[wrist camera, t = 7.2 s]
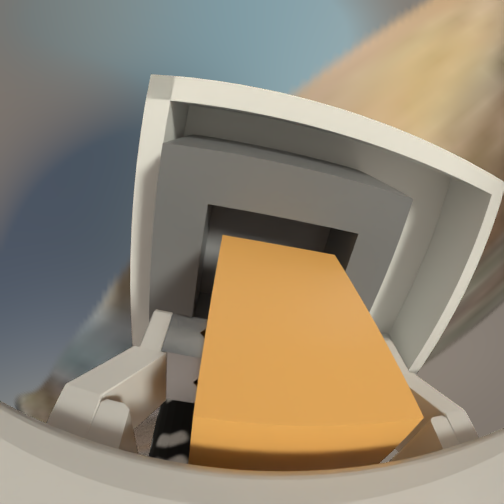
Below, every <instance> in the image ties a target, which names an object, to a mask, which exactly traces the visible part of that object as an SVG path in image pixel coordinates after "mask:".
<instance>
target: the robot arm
mask: <svg viewBox="0 0 504 504" xmlns="http://www.w3.org/2000/svg"><path fill="white" fill-rule="evenodd" d="M207 321H208V319H203V318H198V317H192V316H187V315H183V314H178V313H172V312H167V311H162V310H158V309H156V310H155V311H154V312H153V314H152V317H151V319H150V321H149V324H148V326H147V329H146V331H145V334H144V336H143V339H142V341H141V344H140V346H139V347H137V346H133V347H131V348H129V349H127V350H126V351H124V352H122V353H120V354H119V355H117V356H115V357H113V358H112V359H110V360H108V361H106V362H104V363H103V364H101V365H99V366H97V367H95V368H94V369H92V370H90V371H88V372H86V373H85V374H83V375H81V376H79V377H77V378H76V379H74V380H72V381H70V382H68V383H67V384H65V386H64V388H63V390H62V392H61V394H60V396H59V398H58V400H57V402H56V404H55V406H54V408H53V410H52V412H51V414H50V416H49V418H48V420H47V423H44V422H42V421H40V420H37V419H35V418H33V417H31V416H29V415H27V414H25V413H22V412H20V411H18V410H16V409H15V408H13V407H11V406H9V405H7V404H5V403H3V402H1V401H0V504H504V428H502V429H500V430H498V431H495V432H493V433H490V434H488V435H485V436H482V437H480V438H479V437H478V435H477V432H476V431H475V429H474V427H473V425H472V423H471V421H470V419H469V417H468V416H467V414H466V412H465V410H464V409H462V408H461V407H460V406H458V405H457V404H455V403H454V402H453V401H451V400H450V399H448V398H447V397H446V396H444V395H443V394H442V393H440V392H439V391H437V390H436V389H435V388H433V387H432V386H430V385H429V384H428V383H426V382H425V381H424V380H422V379H421V378H419V377H418V376H417V375H415V374H414V373H409V371H408V369H407V367H406V366H405V364H404V362H403V360H402V358H401V357H400V355H399V353H398V351H397V349H396V348H395V346H394V344H393V342H392V341H391V340H389V339H384V340H385V342H386V344H387V345H388V347H389V349H390V351H391V353H392V355H393V357H394V359H395V360H396V362H397V364H398V366H399V368H400V370H401V372H402V374H403V376H404V378H405V380H406V382H407V384H408V386H409V388H410V390H411V392H412V394H413V396H414V398H415V400H416V402H417V404H418V406H419V408H420V410H421V412H422V414H423V417H424V418H423V419H422V420H421V421H420V423H419V424H418V425H417V426H416V427H415V428H414V429H413V430H412V431H411V432H410V433H409V435H408V436H407V437H406V438H405V439H404V440H403V441H402V442H401V443H400V444H399V445H398V446H397V447H396V448H395V449H396V450H397V451H398V453H397V454H396V455H395V456H394V457H393V458H392V459H391V460H390V461H389V462H386V463H380V464H373V465H366V466H359V467H350V468H341V469H329V470H313V471H252V470H236V469H225V468H215V467H206V466H199V465H192V464H185V463H179V462H174V461H168V460H163V459H158V458H153V457H149V456H144V455H140V454H138V450H137V445H136V441H135V436H134V431H133V430H134V429H135V428H136V427H137V426H138V425H139V424H140V423H142V422H143V421H144V420H145V419H146V418H147V417H148V416H149V415H150V414H151V413H153V412H154V411H155V410H156V409H157V408H158V407H159V406H160V405H161V404H162V403H163V402H165V401H166V399H171V400H177V401H184V402H191V403H195V399H196V392H197V385H198V378H199V372H200V365H201V358H202V352H203V346H204V339H205V333H206V327H207Z"/></svg>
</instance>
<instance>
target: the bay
mask: <svg viewBox="0 0 504 504" xmlns="http://www.w3.org/2000/svg"><path fill="white" fill-rule="evenodd" d="M503 193H504V181H502V180H500V179H499V178H497V177H495V176H494V175H492V174H490V173H488V172H487V171H485V170H483V169H481V168H480V167H478V166H476V165H474V164H472V163H470V162H469V161H467V160H465V159H463V158H461V157H459V156H457V155H455V154H453V153H451V152H449V151H447V150H445V149H443V148H441V147H438V146H436V145H434V144H432V143H430V142H428V141H425V140H423V139H421V138H419V137H416V136H414V135H411V134H409V133H407V132H404V131H402V130H399V129H397V128H394V127H392V126H389V125H386V124H384V123H381V122H378V121H376V120H373V119H370V118H367V117H364V116H361V115H359V114H356V113H352V112H349V111H346V110H343V109H340V108H337V107H333V106H330V105H327V104H323V103H319V102H316V101H312V100H308V99H305V98H301V97H297V96H293V95H289V94H284V93H280V92H275V91H271V90H266V89H261V88H256V87H251V86H245V85H239V84H233V83H227V82H221V81H214V80H205V79H197V78H188V77H179V76H166V75H151V77H150V82H149V87H148V93H147V98H146V103H145V109H144V115H143V122H142V128H141V135H140V142H139V150H138V158H137V166H136V176H135V186H134V199H133V213H132V231H131V262H130V296H131V328H132V346H137V347H139V346H140V344H141V341H142V339H143V336H144V334H145V331H146V329H147V326H148V324H149V321H150V319H151V317H152V314H153V312H154V311H155V310H156V309H158V310H162V311H167V312H172V313H178V314H183V315H187V316H192V317H198V318H203V319H208V315H209V309H210V303H211V297H212V291H213V285H214V279H215V274H216V268H217V262H218V257H219V251H220V246H221V241H222V235H226V236H232V237H238V238H244V239H249V240H255V241H261V242H266V243H272V244H278V245H283V246H289V247H294V248H300V249H305V250H311V251H316V252H322V253H327V254H333V255H335V256H336V258H337V259H338V261H339V262H340V264H341V266H342V267H343V269H344V271H345V272H346V274H347V276H348V277H349V279H350V281H351V282H352V284H353V286H354V287H355V289H356V291H357V292H358V294H359V296H360V297H361V299H362V301H363V303H364V304H365V306H366V308H367V310H368V311H369V313H370V315H371V317H372V318H373V320H374V322H375V324H376V325H377V327H378V329H379V331H380V333H381V334H382V336H383V338H384V339H389V340H391V341H392V342H393V344H394V346H395V348H396V349H397V351H398V353H399V355H400V357H401V358H402V360H403V362H404V364H405V366H406V367H407V369H408V371H409V373H414V374H415V375H416V374H417V373H418V371H419V370H420V368H421V367H422V365H423V364H424V362H425V361H426V359H427V358H428V356H429V355H430V353H431V352H432V350H433V348H434V347H435V345H436V344H437V342H438V340H439V339H440V337H441V335H442V334H443V332H444V330H445V328H446V327H447V325H448V323H449V321H450V319H451V318H452V316H453V314H454V312H455V310H456V308H457V307H458V305H459V303H460V301H461V299H462V297H463V295H464V293H465V291H466V289H467V287H468V285H469V282H470V280H471V278H472V276H473V274H474V272H475V269H476V267H477V265H478V262H479V260H480V258H481V255H482V253H483V250H484V248H485V245H486V243H487V240H488V238H489V235H490V232H491V230H492V227H493V224H494V221H495V218H496V215H497V212H498V209H499V206H500V203H501V199H502V196H503Z"/></svg>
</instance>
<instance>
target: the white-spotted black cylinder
mask: <svg viewBox="0 0 504 504" xmlns="http://www.w3.org/2000/svg"><path fill="white" fill-rule="evenodd" d="M194 406H195V403H191V402H184V401H177V400H171V399H166V401H165V402H163V403H162V404H161V405H160V408H159V412H158V416H157V421H156V425H155V430H154V434H153V439H152V443H151V448H150V452H149V457H153V458H158V459H163V460H168V461H174V462H179V463H185V464H188V462H189V452H190V441H191V432H192V422H193V414H194Z"/></svg>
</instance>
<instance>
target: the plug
mask: <svg viewBox="0 0 504 504" xmlns="http://www.w3.org/2000/svg"><path fill="white" fill-rule="evenodd" d="M423 418H424V417H423V414H422V412H421V410H420V408H419V406H418V404H417V402H416V400H415V398H414V396H413V394H412V392H411V390H410V388H409V386H408V384H407V382H406V380H405V378H404V376H403V374H402V372H401V370H400V368H399V366H398V364H397V362H396V360H395V359H394V357H393V355H392V353H391V351H390V349H389V347H388V345H387V344H386V342H385V340H384V338H383V336H382V334H381V333H380V331H379V329H378V327H377V325H376V324H375V322H374V320H373V318H372V317H371V315H370V313H369V311H368V310H367V308H366V306H365V304H364V303H363V301H362V299H361V297H360V296H359V294H358V292H357V291H356V289H355V287H354V286H353V284H352V282H351V281H350V279H349V277H348V276H347V274H346V272H345V271H344V269H343V267H342V266H341V264H340V262H339V261H338V259H337V258H336V256H335V255H333V254H327V253H322V252H316V251H311V250H305V249H300V248H294V247H289V246H283V245H278V244H272V243H266V242H261V241H255V240H249V239H244V238H238V237H232V236H226V235H222V241H221V246H220V251H219V257H218V262H217V268H216V274H215V279H214V285H213V291H212V297H211V303H210V309H209V315H208V321H207V327H206V333H205V339H204V346H203V352H202V358H201V365H200V372H199V378H198V385H197V392H196V399H195V406H194V414H193V422H192V432H191V441H190V452H189V462H188V464H192V465H199V466H206V467H215V468H225V469H236V470H252V471H313V470H329V469H341V468H350V467H359V466H366V465H373V464H379V463H380V462H381V461H382V460H383V459H384V458H385V457H386V456H388V455H389V454H390V453H391V452H392V451H393V450H394V449H395V448H396V447H397V446H398V445H399V444H400V443H401V442H402V441H403V440H404V439H405V438H406V437H407V436H408V435H409V433H410V432H411V431H412V430H413V429H414V428H415V427H416V426H417V425H418V424H419V423H420V421H421V420H422V419H423Z"/></svg>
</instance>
